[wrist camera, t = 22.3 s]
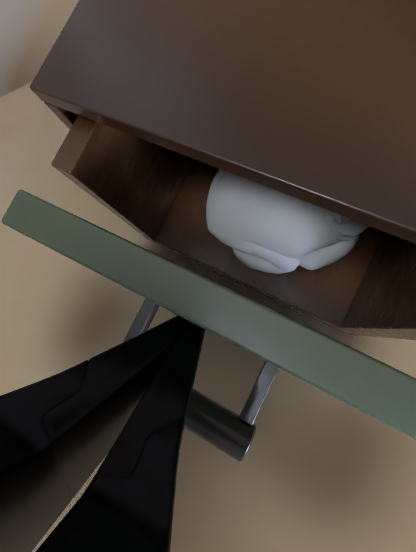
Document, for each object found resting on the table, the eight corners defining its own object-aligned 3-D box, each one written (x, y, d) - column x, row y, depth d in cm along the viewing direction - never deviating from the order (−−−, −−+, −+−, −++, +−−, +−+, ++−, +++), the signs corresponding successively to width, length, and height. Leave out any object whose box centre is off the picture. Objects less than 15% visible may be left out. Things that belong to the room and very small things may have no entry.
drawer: (301, 470, 14) (356, 667, 6) (85, 342, 17) (-77, 356, 9) (439, 163, 16) (642, -23, 7) (216, 92, 19) (179, -100, 10)
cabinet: (380, 315, 16) (582, 294, 6) (150, 212, 19) (27, 87, 9) (477, 97, 17) (793, -237, 7) (242, 35, 20) (224, -255, 10)
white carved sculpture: (380, 251, 15) (483, 184, 8) (244, 308, 15) (230, 292, 8) (322, 147, 16) (367, 13, 9) (200, 204, 17) (156, 118, 10)
